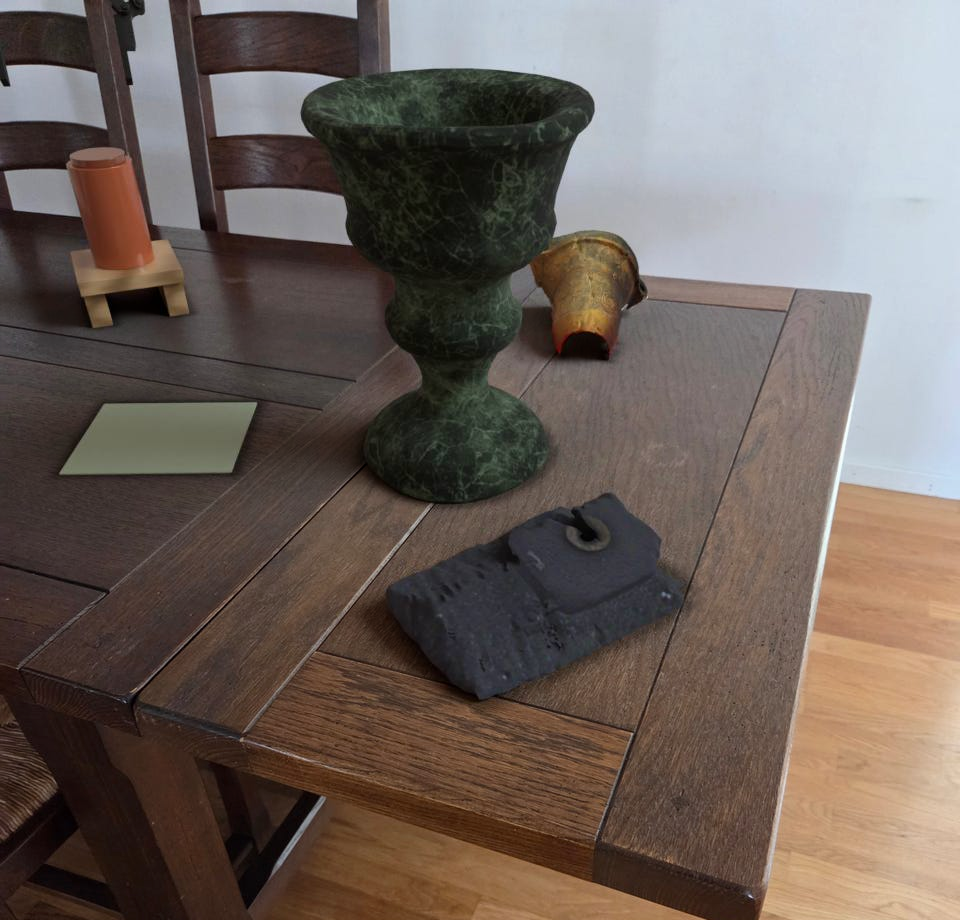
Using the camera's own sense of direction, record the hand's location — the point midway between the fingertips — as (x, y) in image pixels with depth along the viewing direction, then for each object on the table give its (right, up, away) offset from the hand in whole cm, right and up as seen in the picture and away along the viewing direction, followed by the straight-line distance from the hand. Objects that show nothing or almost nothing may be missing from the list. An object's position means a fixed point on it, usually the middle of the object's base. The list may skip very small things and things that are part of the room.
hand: (68, 82), depth 104 cm
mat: (+17, -45, -16) cm, 51 cm away
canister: (+4, -18, +5) cm, 20 cm away
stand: (+4, -23, +9) cm, 25 cm away
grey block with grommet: (+52, -62, -35) cm, 89 cm away
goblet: (+46, -47, -18) cm, 68 cm away
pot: (+61, -27, +5) cm, 67 cm away
